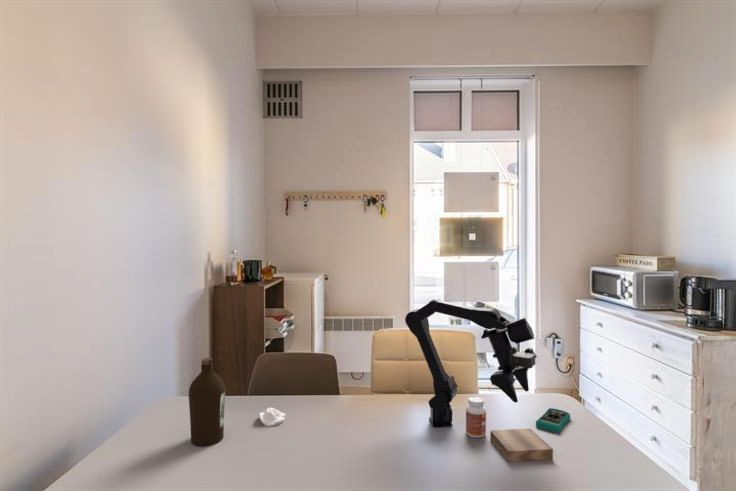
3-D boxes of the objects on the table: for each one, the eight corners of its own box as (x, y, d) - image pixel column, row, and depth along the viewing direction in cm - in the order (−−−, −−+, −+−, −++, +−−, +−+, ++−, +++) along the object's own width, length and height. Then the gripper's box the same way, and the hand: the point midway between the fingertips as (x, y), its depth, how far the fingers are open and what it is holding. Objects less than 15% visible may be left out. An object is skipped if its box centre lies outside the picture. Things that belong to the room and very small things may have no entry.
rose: (250, 410, 144) (269, 400, 153) (250, 423, 144) (269, 412, 153) (273, 416, 140) (292, 405, 148) (273, 429, 140) (292, 418, 148)
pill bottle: (485, 439, 132) (485, 404, 132) (465, 436, 134) (465, 401, 134) (486, 431, 138) (486, 397, 138) (466, 428, 140) (466, 394, 140)
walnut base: (508, 462, 119) (508, 451, 119) (490, 440, 132) (490, 430, 132) (552, 459, 120) (552, 449, 120) (530, 437, 133) (530, 428, 133)
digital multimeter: (571, 419, 148) (571, 411, 148) (558, 435, 136) (558, 426, 136) (548, 414, 152) (549, 406, 152) (535, 428, 141) (535, 419, 141)
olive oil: (188, 450, 125) (187, 365, 125) (189, 434, 135) (189, 356, 135) (226, 444, 129) (225, 362, 128) (225, 429, 139) (224, 353, 138)
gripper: (514, 351, 122) (535, 405, 120) (536, 334, 136) (556, 381, 134) (480, 358, 129) (500, 409, 127) (505, 341, 144) (523, 387, 141)
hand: (521, 396), depth 132 cm, fingers open, 9 cm apart
